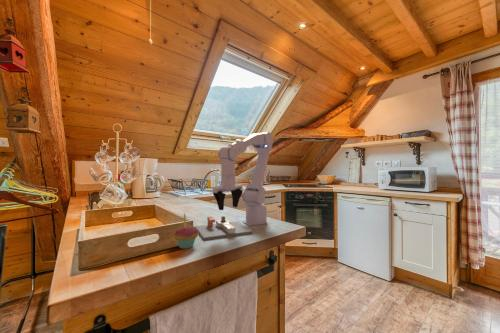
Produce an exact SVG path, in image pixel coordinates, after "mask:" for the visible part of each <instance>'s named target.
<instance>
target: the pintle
mask: <svg viewBox="0 0 500 333" xmlns="http://www.w3.org/2000/svg"><path fill="white" fill-rule="evenodd" d="M220 220H221V222H225V220H226V216H225V215H224V216H223V215H222V216H221V219H220Z"/></svg>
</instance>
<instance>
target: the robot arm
mask: <svg viewBox="0 0 500 333" xmlns="http://www.w3.org/2000/svg"><path fill="white" fill-rule="evenodd" d="M234 141H235V142H232V143H229V144H228V145H227V146H222V147H221V148H220V149H219V151H218V153H217V156H218V158H219V163H220V165H221V166H220V168H221V170H220V171H221V173H220V174H221V177H220V178H221V179H220V180H221V185H220V186H216V187H212V194H213V196H214V199H215V200H216V203H217V207H218V210H220V211H224V209H225V207H224V206H225V198H226V193H225V192H230V193H231V198H232V207H233V208H238V205H239V201H240V199H241V197H242V201H243V202H244V205H245V220H244V219H243V220H242V222H243V223H245V224H246V225H247V226H257V225H265V224H268V221H267V219H268V218H267V216H268V215H267V213H268V212H267V211H268V210H267V206H266V204H265V200H266V191H267V190H266V189H265V188H264V186H263V182H264V179H265V178H264V177H265V173H266V170H267V166H268V162H269V158H270V154H271V151H272V148H273V143H274V137H273V135H272V133H271V132H269V131H267V132H257V133H256V132H254V133H251V134H250V135H249V136H247V137H246V138H245V139H240V138H239V139H235V140H234ZM250 146H252V147H253V148H254V150H255V152H257V153H258V156H257V159H256V163H255V167H254V170H253V175H252V177H251V181H250V183H249V184H248V185H246V186H245V189H244V190H243V184H236V160H237V159H238V158H239V156H240V155H241V154H244V153H245V152H246V151H247V149H248V147H250Z"/></svg>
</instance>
